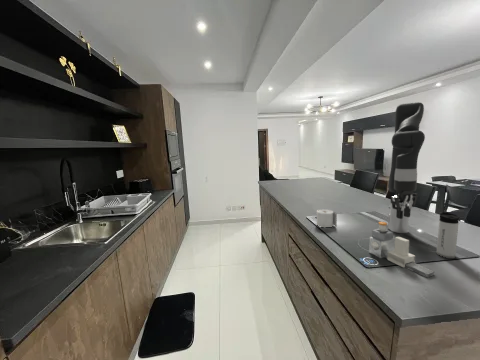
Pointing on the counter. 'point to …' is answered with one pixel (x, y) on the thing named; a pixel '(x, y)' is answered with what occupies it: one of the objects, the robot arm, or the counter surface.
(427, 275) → the rail
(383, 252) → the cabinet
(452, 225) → the travel mug
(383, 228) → the plunger
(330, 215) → the toilet tissue
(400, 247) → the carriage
